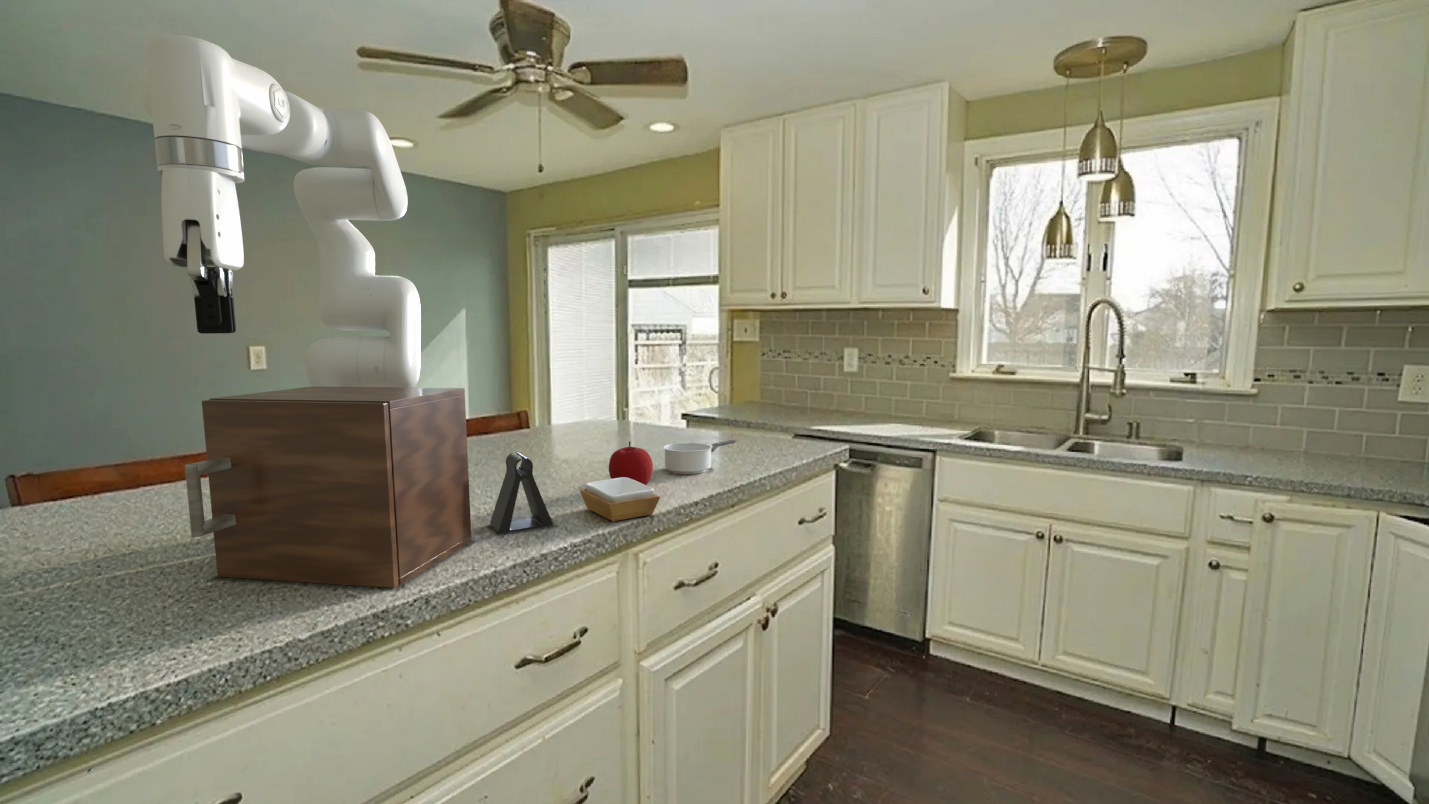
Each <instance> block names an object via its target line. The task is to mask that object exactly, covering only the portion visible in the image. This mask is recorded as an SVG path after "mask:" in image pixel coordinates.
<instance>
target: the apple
mask: <svg viewBox="0 0 1429 804" xmlns="http://www.w3.org/2000/svg"><path fill="white" fill-rule="evenodd" d="M653 471H654V464H653V460H652V457H651V455H650V454H649V452H648V451H647V450H645V449H644V448H641V447H636V446H631V441H628V446H625V447H621V448H619V449H617V450H615V451H613V453H611V455H610V458H609V461H608V474H609V478H610V479H614V478H621V477H627V478H630V479H632V480H635V481H637V482H640V483H642V484H644V485H646V486H648V484H649V483H650V481H651V479H652V476H653Z"/></svg>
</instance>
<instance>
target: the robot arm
mask: <svg viewBox="0 0 1429 804" xmlns="http://www.w3.org/2000/svg"><path fill="white" fill-rule="evenodd" d="M145 59H146V61H145V62H146V66H145V67H144V68H143V69H142V71H141V72H140V74H139V76H138V80H137V81H138V82H137V92H138V96H139V99H140V102H141V104H142V106H143V108H144V110H145V112H146V113H147V115H149V117H150V118H151V119H152V127H153V128H152V129H153V137H154V147H155V148H154V149H155V156H156V167H157V168H156V169H157V173H158V174H159V175H161V189H160V190H161V195H160V196H161V198H160V202H161V206H160V207H161V227H162V229H161V231H162V245H163V257H164V259H165V261H166V263H168V264H170V265H171V266H173V267H178V268H183V269H186V271H187V276H189V277H190V280H191V281H190V282H191V288H192V293H193V299H194V309H195V320H196V330H197V332H198V333H199V334H201V335H202V334H203V335H204V334H207V335H208V334H234V333H236V332H237V324H236V323H237V322H236V313H235V311H236V310H235V301H234V300H235V299H234V287H233V286H234V284H233V281H234V273H233V271H238V270H240V269H242V268H243V267H244V263H245V257H244V256H245V255H244V241H243V231H242V223H241V214H240V207H239V200H238V195H237V189H236V184H241V183H244V182H245V180H246V179H245V171H244V170H245V169H244V168H245V167H244V159H243V149H245V150H250V151H255V152H259V153H267V154H275V155H279V156H283V157H286V158H289V159H293V160H295V161H298V162H301V163H304V164H308V165H312V166H317V167H309V168H305V169H302V170H299V172H297V173H296V174H295V176H294V178H293V190H294V196H295V199H296V201H297V204H298V206H299V209H300V210H301V212H302V214H303V217H304V218H305V220H306V222H307V224H308V226H309V229H310V230H311V232H312V233H313V236H314V238H315V241H316V243H317V246H318V250H319V252H318V253H319V268H318V269H319V271H318V296H317V297H318V312H319V313H318V314H319V318H320V320H321V322H322V323H323V325H325V326H326V327H328V328H329V329H332V330H337V331H348V332H349V331H350V332H351V331H352V332H353V331H354V332H357V331H360V332H368V331H369V332H373V331H375V332H380V331H382V332H383V331H384V332H389V336H365V335H364V336H363V335H362V336H361V335H359V336H358V335H357V336H355V335H354V336H353V335H352V336H349V335H347V336H346V335H345V336H331V337H325V338H320V339H318V340H316V341H314V342H313V343H311V344H310V346H309V347H307V350H306V352H305V355H304V363H305V365H304V366H305V371H306V375H307V379H308V382H309V387H312V386H313V387H401V388H416V386H417V385H418V382H419V381H420V375H421V342H422V341H421V337H422V336H421V334H422V331H421V329H422V325H421V324H422V323H421V322H422V321H421V320H422V314H421V300H420V299H421V298H420V295H419V292H418V289H417V287H416V286H415V284H414V283H413V282H412V281H411V279H408V278H406V277H404V276H399V275H376V253H375V250H374V248H373V246H372V244H371V243H370V242H369V240H368V239H367V238H366V237H365V236H364V234H363V233H361V232H360V230H359V229H357V228H356V227H355V226H354V225H353V224H352V222H350V221H351V220H352V221H379V222H380V221H383V222H388V221H389V222H391V221H397V220H399V219H401V218H403V216H404V215H405V214H406V213H407V209H408V204H409V203H408V202H409V198H408V192H407V187H406V183H405V181H404V177H403V174H402V172H401V168H400V166H399V163H398V159H397V157H396V153H395V151H394V148H393V145H392V142H391V140H390V137H389V135H388V133H387V131H386V129H385V127H384V125H383V124H382V122H381V120H379V118H378V117H377V116H376V115H375V114H374V113H372V112H370V111H368V110H360V109H344V108H343V109H342V108H341V109H340V108H328V107H327V108H325V107H319V106H316V105H314V104H313V103H310V102H309V101H307V100H306V99H304V98H302V97H300V96H298V95H297V94H294V93H293V92H290V91H287V90H284V89H283V87H282V86H281V85H280V83H279V81H277V80H276V79H275V78H274V77H273V76H272V75H270V74H269V73H268V72H266V71H264V70H263V69H260V68H258V67H256V66H254V65H251V64H249V63H245V62H243V61H240V60H237V59H236V58H234V57H231V55H230V54H229V52H228V51H227V50H225V49H223V47H221V46H220V45H218V44H216V43H213V42H211V41H208V40H205V39H202V38H199V37H195V36H190V35H185V34H176V33H163V34H162V33H161V34H157V35H155V36H152V37H151V38H150V39H148V40H147V42H146V46H145ZM318 166H319V167H318Z"/></svg>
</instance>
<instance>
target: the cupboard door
mask: <svg viewBox="0 0 1429 804" xmlns="http://www.w3.org/2000/svg"><path fill="white" fill-rule="evenodd" d="M201 409H202V420H203V431H204V442H205V453H206V459H205V460H201V461H197V462H192V463H188V464H187V463H186V464H185V465H184V473H185V482H186V492H187V493H186V494H187V503H188V513H189V514H188V515H189V524H190V534H191V535H190V536H191V537H192V538H200V537H204V536H206V535H209V534H212V533H213V541H214V542H213V543H214V553H215V565H216V574H217V577H218V578H221V577H222V578H232V579H233V578H234V579H246V580H247V579H249V580H250V579H251V580H266V581H277V582H278V581H279V582H281V581H282V582H295V583H296V582H297V583H309V584H310V583H312V584H325V585H326V584H328V585H339V586H340V585H341V586H356V587H358V586H359V587H373V588H386V589H387V588H388V589H389V588H390V589H395V588H397V587H398V586H400V585H399V581H398V564H397V547H396V530H395V513H394V496H393V479H392V462H391V445H390V428H389V411H388V403H373V402H309V401H246V400H209V399H203V400H201ZM202 475H207V476H208V487H209V496H210V497H209V498H210V508H211V518H210V519H209V518H208V519H205V511H204V502H203V501H204V500H203V491H202V490H203V489H202V479H201V476H202Z"/></svg>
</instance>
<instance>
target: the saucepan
mask: <svg viewBox="0 0 1429 804" xmlns="http://www.w3.org/2000/svg"><path fill="white" fill-rule="evenodd" d="M735 443H736V439H727V440H724V441H718V442H715V443H712V444H710V443H704V442H675V443H674V442H673V443H669V444H664V445H663V446H662V448H663V449H664V468H665V469H666V470H668V471H670V473H672V474H677V475H695V474H696V475H697V474H702V473H705V472H706V471H707V470H708V469H710V468H711V467H712V453H714V452H715V451H716V450H717V449H718V448H719V447H722V446H727V445H731V444H735Z"/></svg>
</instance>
